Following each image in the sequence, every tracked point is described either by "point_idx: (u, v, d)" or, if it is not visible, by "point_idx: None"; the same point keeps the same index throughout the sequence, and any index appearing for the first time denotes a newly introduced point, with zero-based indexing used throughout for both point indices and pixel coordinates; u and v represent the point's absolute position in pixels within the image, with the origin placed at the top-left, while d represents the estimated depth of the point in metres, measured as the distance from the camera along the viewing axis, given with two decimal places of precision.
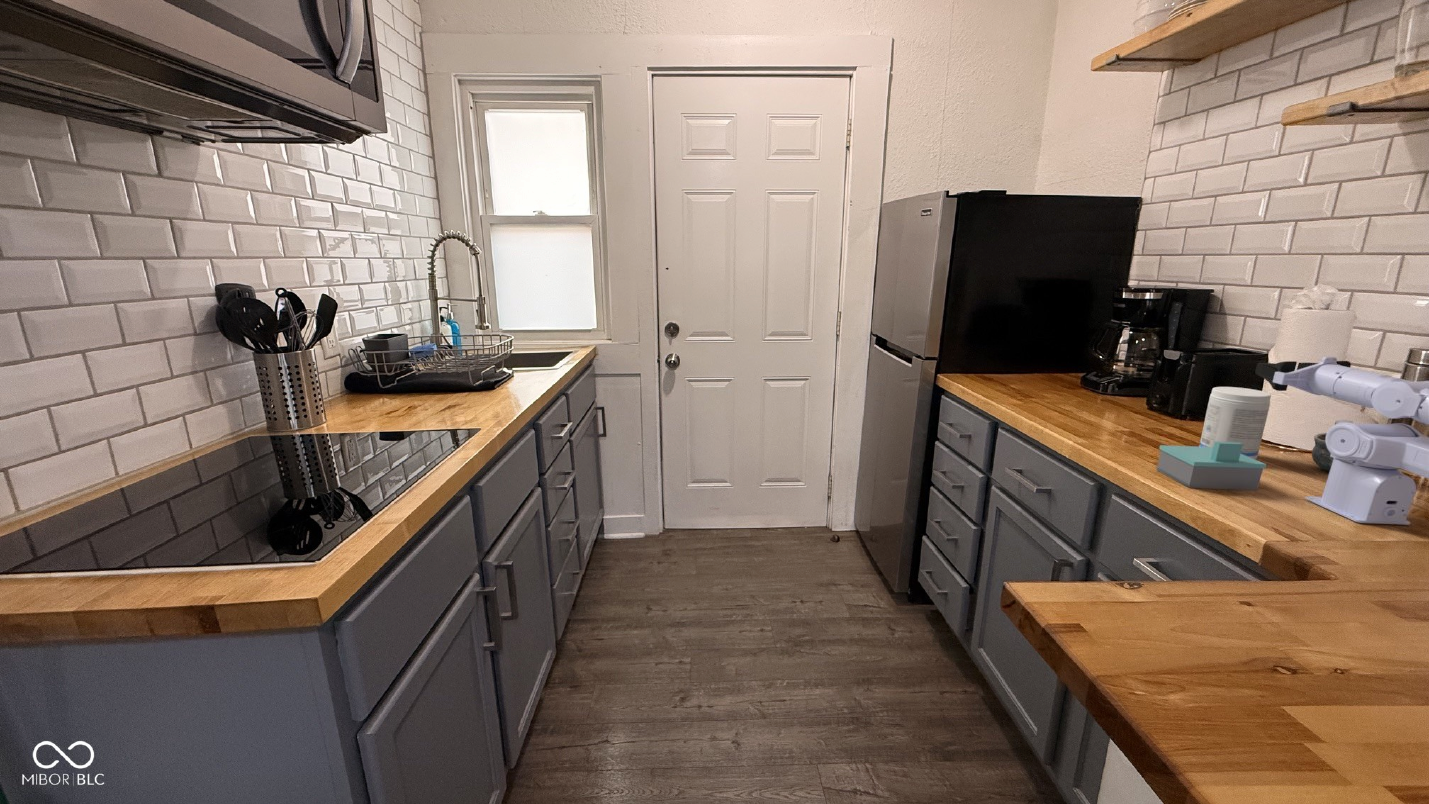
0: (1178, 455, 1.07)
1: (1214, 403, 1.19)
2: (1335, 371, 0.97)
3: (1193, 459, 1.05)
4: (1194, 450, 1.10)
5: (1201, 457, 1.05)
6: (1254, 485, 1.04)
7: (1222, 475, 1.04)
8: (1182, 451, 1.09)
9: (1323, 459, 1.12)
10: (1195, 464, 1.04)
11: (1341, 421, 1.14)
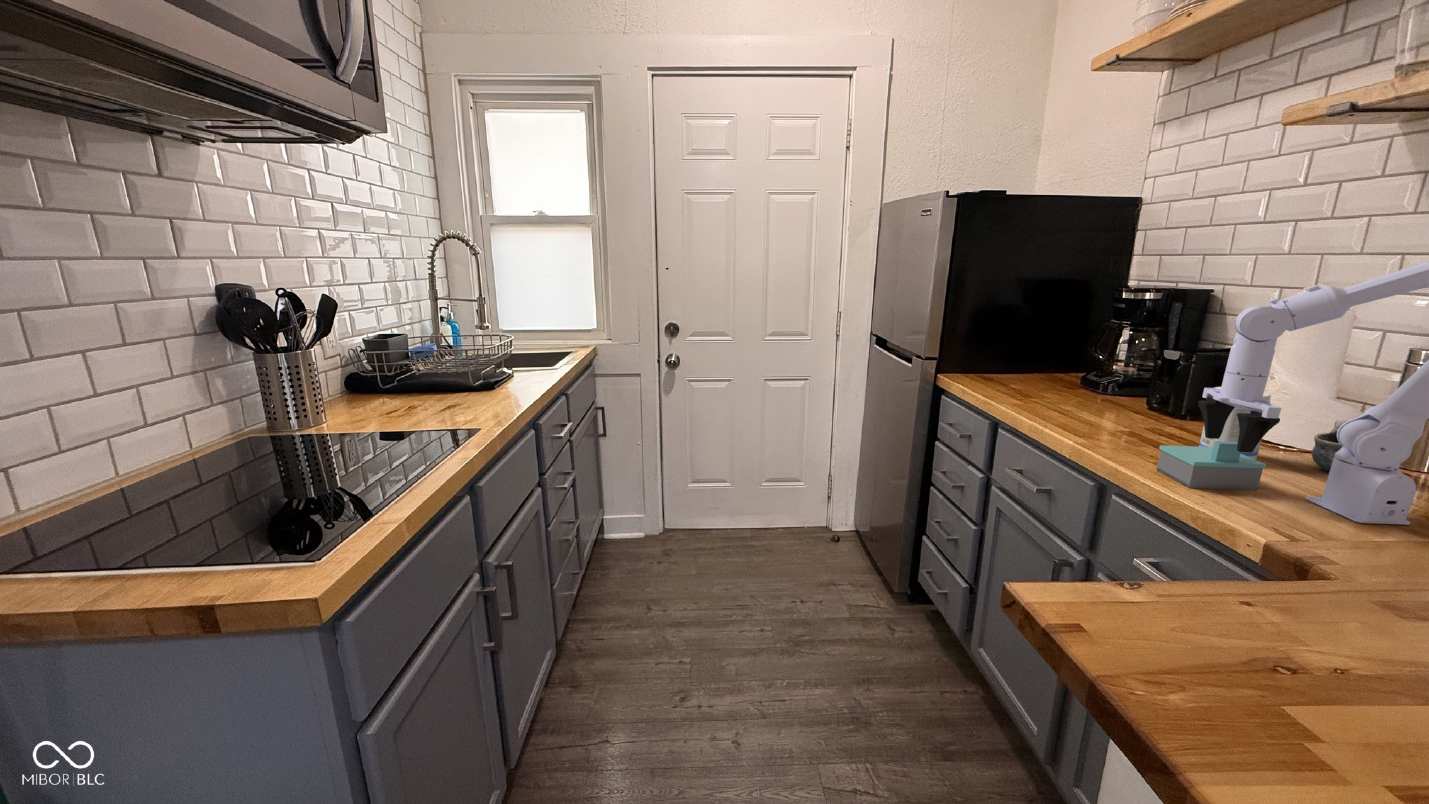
0: (1178, 455, 1.07)
1: None
2: (1240, 382, 0.99)
3: (1193, 459, 1.05)
4: (1194, 450, 1.10)
5: (1201, 457, 1.05)
6: (1254, 485, 1.04)
7: (1222, 475, 1.04)
8: (1182, 451, 1.09)
9: (1323, 459, 1.12)
10: (1195, 464, 1.04)
11: (1341, 421, 1.14)
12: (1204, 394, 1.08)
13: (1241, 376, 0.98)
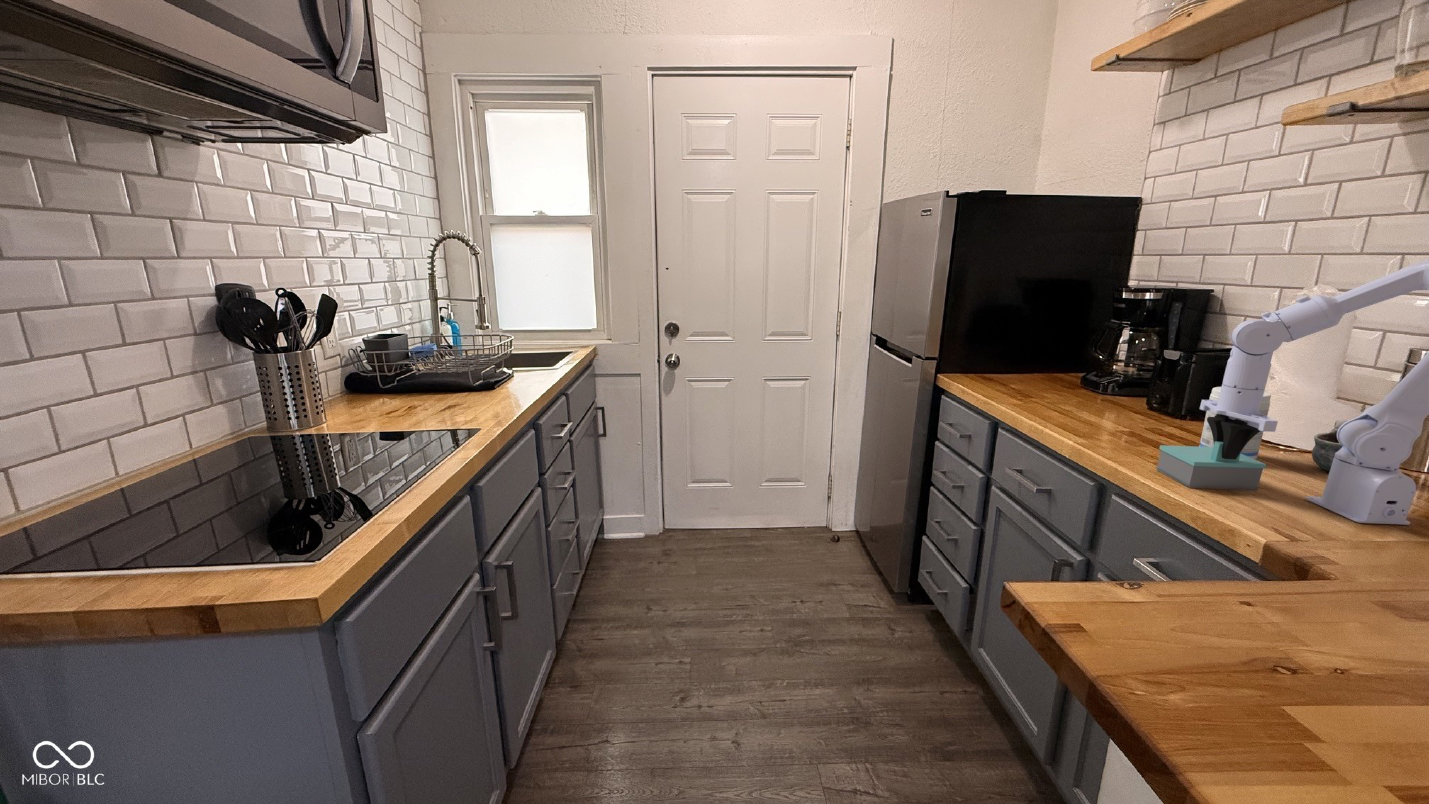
0: (1178, 455, 1.07)
1: None
2: (1237, 395, 0.99)
3: (1193, 459, 1.05)
4: (1194, 450, 1.10)
5: (1201, 457, 1.05)
6: (1254, 485, 1.04)
7: (1222, 475, 1.04)
8: (1182, 451, 1.09)
9: (1323, 459, 1.12)
10: (1195, 464, 1.04)
11: (1341, 421, 1.14)
12: (1201, 406, 1.09)
13: (1238, 389, 0.99)
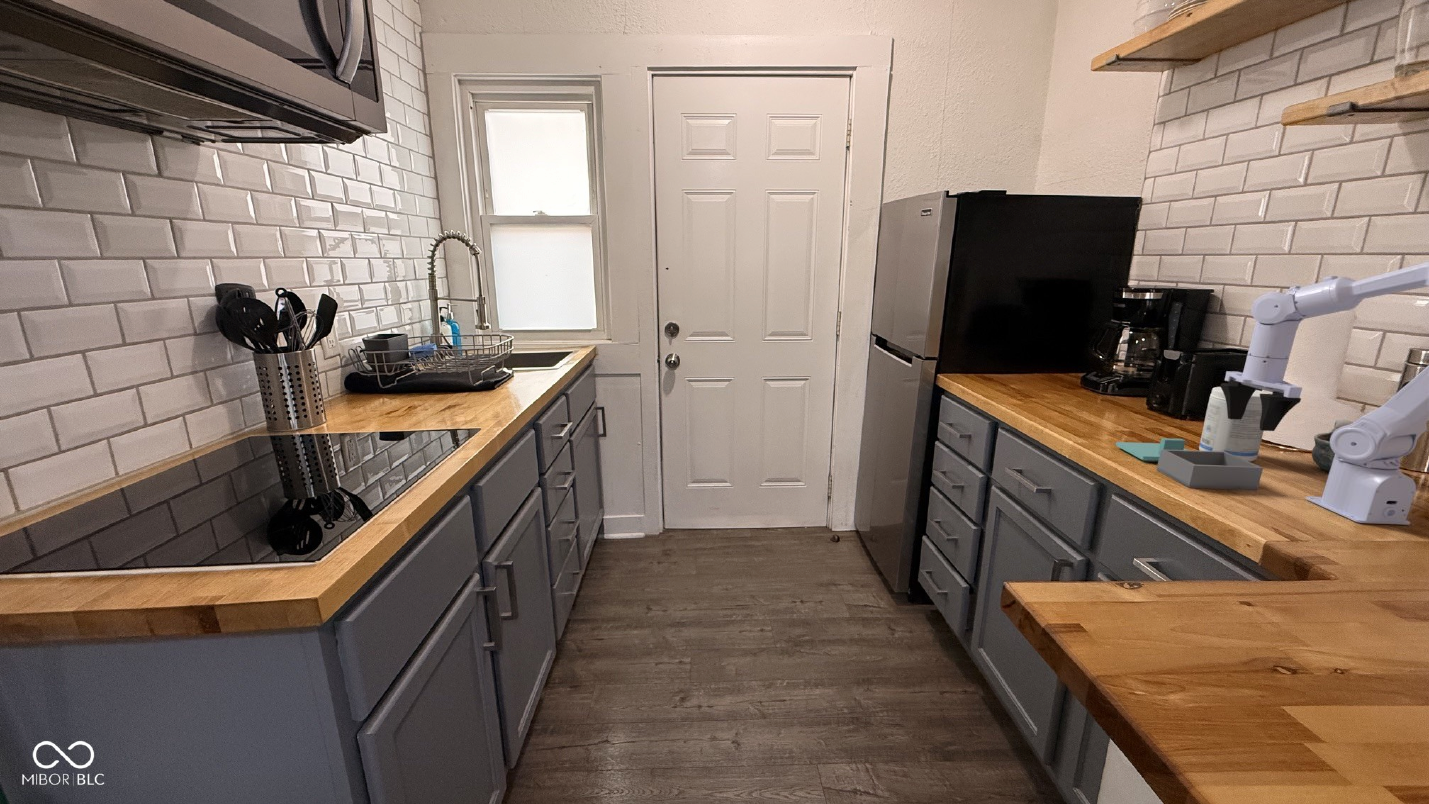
0: (1130, 450, 1.21)
1: (1214, 403, 1.19)
2: (1262, 364, 1.04)
3: (1143, 454, 1.19)
4: (1145, 446, 1.23)
5: (1150, 452, 1.19)
6: (1254, 485, 1.04)
7: (1222, 475, 1.04)
8: (1134, 447, 1.23)
9: (1323, 459, 1.12)
10: (1144, 458, 1.17)
11: (1341, 421, 1.14)
12: (1226, 377, 1.14)
13: (1263, 359, 1.04)
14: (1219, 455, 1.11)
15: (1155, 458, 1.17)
